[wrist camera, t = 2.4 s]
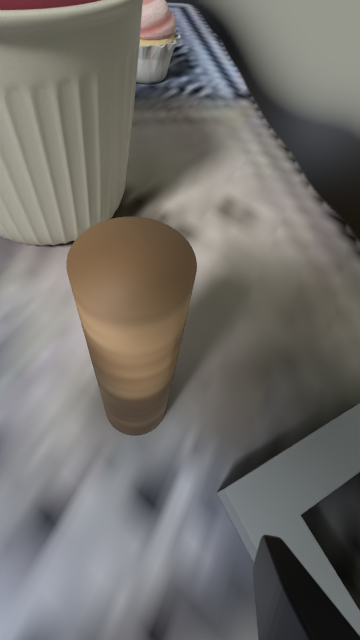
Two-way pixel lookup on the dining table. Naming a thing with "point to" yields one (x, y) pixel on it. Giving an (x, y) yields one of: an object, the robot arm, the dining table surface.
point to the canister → (65, 114)
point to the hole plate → (299, 499)
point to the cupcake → (155, 41)
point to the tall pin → (132, 313)
